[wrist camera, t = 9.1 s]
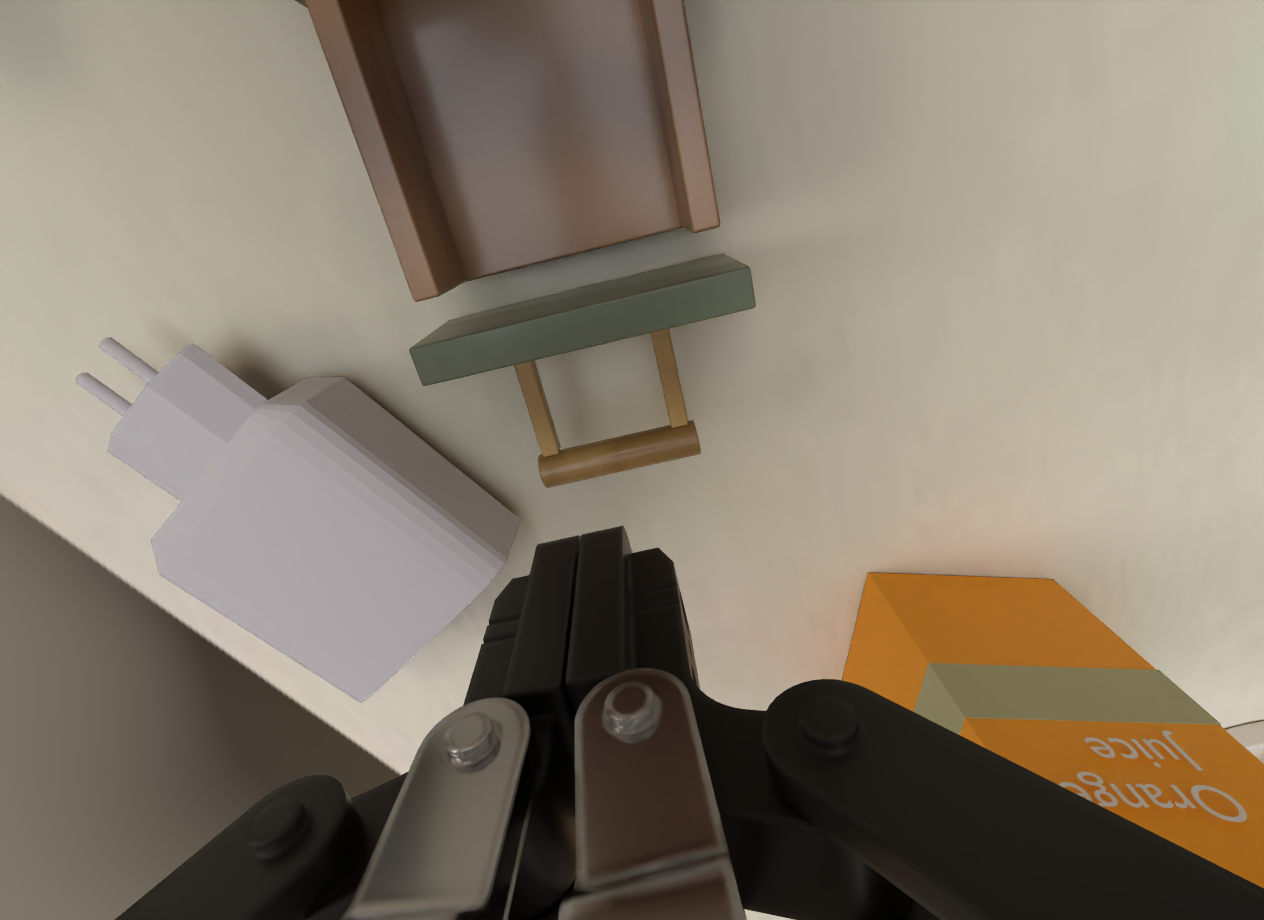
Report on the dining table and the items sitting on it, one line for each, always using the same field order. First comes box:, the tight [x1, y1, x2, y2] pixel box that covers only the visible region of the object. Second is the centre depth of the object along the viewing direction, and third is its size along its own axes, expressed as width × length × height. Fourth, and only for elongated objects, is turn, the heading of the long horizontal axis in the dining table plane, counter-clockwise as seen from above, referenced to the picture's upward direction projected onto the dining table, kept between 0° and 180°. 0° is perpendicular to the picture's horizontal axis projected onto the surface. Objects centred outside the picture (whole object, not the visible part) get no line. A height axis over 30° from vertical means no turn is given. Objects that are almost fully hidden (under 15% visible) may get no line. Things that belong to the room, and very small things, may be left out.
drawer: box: [305, 0, 756, 488], centre depth 19 cm, size 16×10×5 cm, turn 13°
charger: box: [76, 338, 519, 703], centre depth 23 cm, size 5×9×15 cm
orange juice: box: [842, 573, 1264, 888], centre depth 21 cm, size 8×9×20 cm
